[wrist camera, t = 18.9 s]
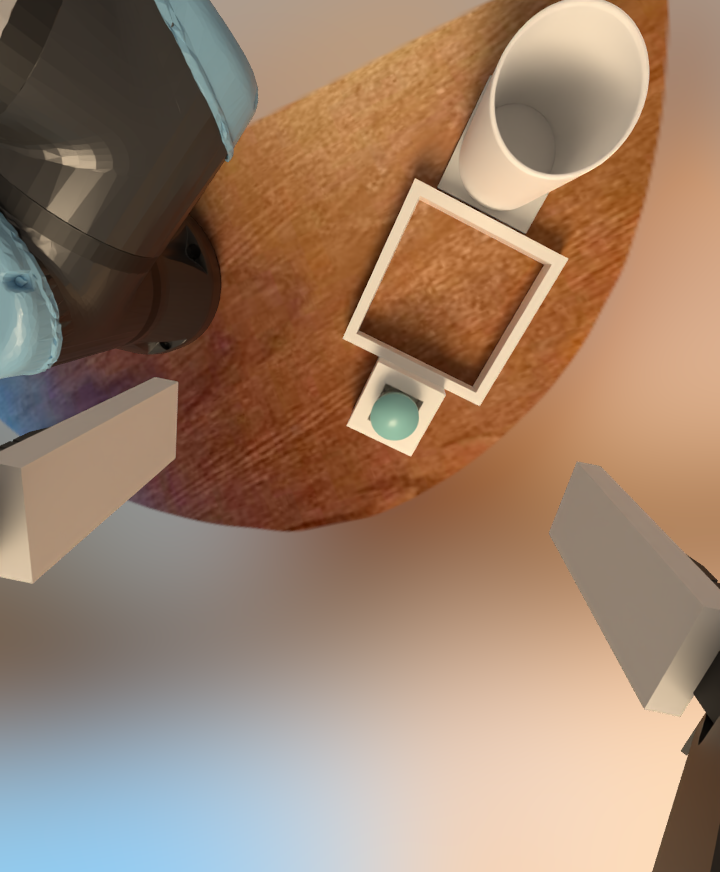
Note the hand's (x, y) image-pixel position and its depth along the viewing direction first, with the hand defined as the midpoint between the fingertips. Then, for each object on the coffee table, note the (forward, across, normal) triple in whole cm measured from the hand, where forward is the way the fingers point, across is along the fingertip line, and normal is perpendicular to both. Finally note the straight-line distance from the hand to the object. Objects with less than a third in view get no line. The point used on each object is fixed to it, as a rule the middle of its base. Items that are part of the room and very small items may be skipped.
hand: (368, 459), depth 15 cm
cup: (+33, +7, +16) cm, 37 cm away
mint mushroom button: (+31, +2, -7) cm, 32 cm away
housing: (+33, +4, 0) cm, 33 cm away
